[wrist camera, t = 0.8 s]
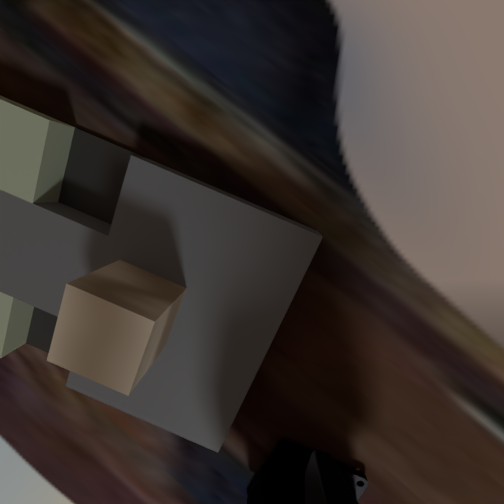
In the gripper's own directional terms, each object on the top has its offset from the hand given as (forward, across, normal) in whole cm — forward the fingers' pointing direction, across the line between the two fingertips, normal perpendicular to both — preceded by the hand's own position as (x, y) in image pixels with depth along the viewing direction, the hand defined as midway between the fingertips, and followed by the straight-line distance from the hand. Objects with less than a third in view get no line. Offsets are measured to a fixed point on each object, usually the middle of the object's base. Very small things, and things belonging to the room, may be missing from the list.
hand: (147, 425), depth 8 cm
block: (+8, +4, +2) cm, 9 cm away
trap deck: (+10, +6, +1) cm, 12 cm away
